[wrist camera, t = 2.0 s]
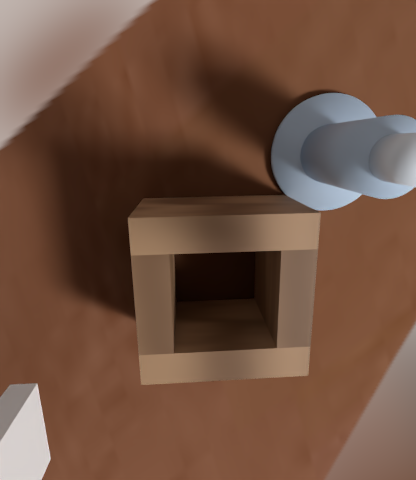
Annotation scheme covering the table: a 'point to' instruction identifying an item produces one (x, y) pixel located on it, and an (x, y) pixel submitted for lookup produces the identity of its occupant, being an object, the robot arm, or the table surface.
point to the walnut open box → (224, 311)
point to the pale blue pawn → (342, 152)
